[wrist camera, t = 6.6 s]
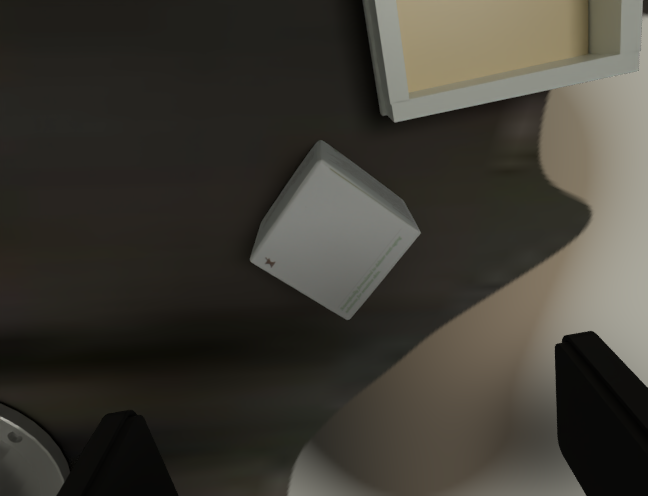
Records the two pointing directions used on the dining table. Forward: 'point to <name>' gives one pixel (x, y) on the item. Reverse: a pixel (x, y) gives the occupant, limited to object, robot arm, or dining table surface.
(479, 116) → the dining table surface
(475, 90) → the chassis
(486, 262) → the dining table surface
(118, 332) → the dining table surface
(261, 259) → the small box
